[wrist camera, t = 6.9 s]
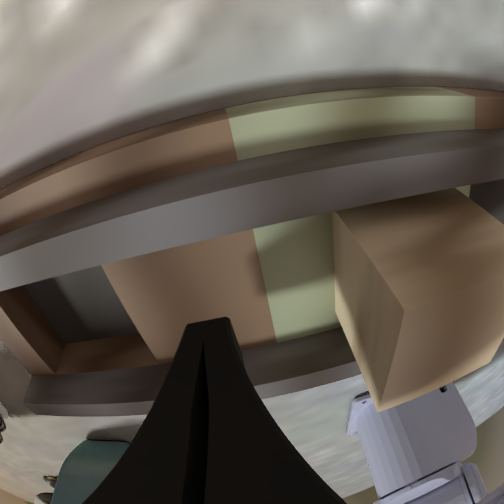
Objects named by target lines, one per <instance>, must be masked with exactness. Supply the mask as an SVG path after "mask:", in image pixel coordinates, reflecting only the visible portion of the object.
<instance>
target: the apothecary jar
mask: <svg viewBox="0 0 504 504" xmlns="http://www.w3.org/2000/svg"><path fill="white" fill-rule="evenodd" d="M43 479H44V480H45V481H46V482H47V483H49V484H50V486H51V487H53V488H55V485H56V482H57V478H55V477H51V476H48V477H45V476H44V477H43ZM52 496H53V493H40V494H38V495H37V496H36V497H35V499H34V502H35V504H51V500H52Z"/></svg>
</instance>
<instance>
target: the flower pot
mask: <svg viewBox="0 0 504 504" xmlns="http://www.w3.org/2000/svg"><path fill="white" fill-rule="evenodd" d="M128 446H129V444H128V443H126V442H111V441H91V440H85V441H83V442H82V443H81V444H79V445H78V446H77V447H76V448H75V449H74V450H73V451H72V452H71V453H70V454H69V455H68V457H67V458H66V459H65V461H64V463H63V465H62V467H61V469H60V472H59V475H58V478H57V482H56V485H55V489H54V493H53V496H52V500H51V504H82V503H83V502H84V501H85V500H86V499H87V498H88V497H89V496H90V495H91V494H92V493H93V492H94V490H95V489H96V488H97V487H98V486H99V485H100V484H101V482H102V481H103V480H104V479H105V477H106V476H107V475H108V474H109V472H110V471H111V470H112V469H113V467H114V466H115V465H116V464H117V462H118V461H119V460H120V458H121V457H122V455H123V454H124V452H125V451H126V449H127V448H128Z"/></svg>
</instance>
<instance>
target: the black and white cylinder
mask: <svg viewBox="0 0 504 504" xmlns="http://www.w3.org/2000/svg"><path fill="white" fill-rule="evenodd" d="M7 418H8V412H7V409H6V408H5V407H4V405H3V404H2V403H1V402H0V443H2V442H3V438H2V435H1V432H3V431H5V429H6V425H5V423H4V420H6V419H7Z"/></svg>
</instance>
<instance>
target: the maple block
mask: <svg viewBox="0 0 504 504" xmlns="http://www.w3.org/2000/svg"><path fill="white" fill-rule="evenodd" d="M331 214H332V230H333V249H334V274H335V312H336V315H337V317H338V319H339V322H340V324H341V326H342V328H343V331H344V333H345V335H346V338H347V340H348V342H349V345H350V347H351V349H352V352H353V354H354V356H355V359H356V361H357V364H358V366H359V368H360V371H361V373H362V376H363V378H364V381H365V383H366V386H367V388H368V390H369V393H370V395H371V398H372V401H373V403H374V406H375V408H376V411H377V413H378V412H380V411H383V410H386V409H389V408H392V407H394V406H397V405H400V404H402V403H405V402H407V401H410V400H412V399H415V398H417V397H419V396H422V395H424V394H427V393H429V392H431V391H433V390H436V389H438V388H440V387H442V386H444V385H447V384H449V383H451V382H453V381H455V380H457V379H459V378H461V377H463V376H465V375H467V374H469V373H471V372H473V371H475V370H477V369H478V368H480V367H482V366H484V365H486V364H488V363H489V362H490V361H491V359H492V358H493V356H494V354H495V353H496V351H497V349H498V347H499V345H500V344H501V342H502V340H503V338H504V225H503V224H502V223H501V222H500V221H499V220H497V219H496V218H495V217H494V216H492V215H491V214H490V213H488V212H487V211H486V210H485V209H483V208H482V207H481V206H479V205H478V204H477V203H475V202H474V201H473V200H471V199H470V198H468V197H467V196H466V195H464V194H463V193H462V192H460V191H459V190H457V189H456V188H450V189H445V190H439V191H434V192H429V193H424V194H418V195H413V196H408V197H403V198H398V199H393V200H388V201H383V202H378V203H373V204H368V205H363V206H358V207H353V208H348V209H343V210H338V211H334V212H331Z"/></svg>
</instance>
